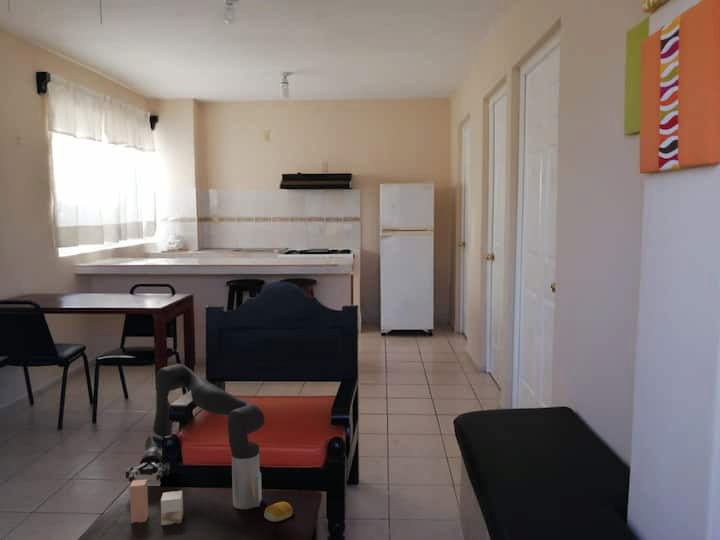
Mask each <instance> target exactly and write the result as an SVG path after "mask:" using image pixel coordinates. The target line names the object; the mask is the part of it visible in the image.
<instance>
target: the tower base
mask: <svg viewBox="0 0 720 540" xmlns="http://www.w3.org/2000/svg"><path fill="white" fill-rule="evenodd" d="M183 516H184V503H183V504H182V508H181V511H176V512H167V513H160V518H161V519H160V521H161V522H160V523H161V526H167V525H175V524H174V523H177V524H182V522H183V521H182V520H183Z"/></svg>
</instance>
